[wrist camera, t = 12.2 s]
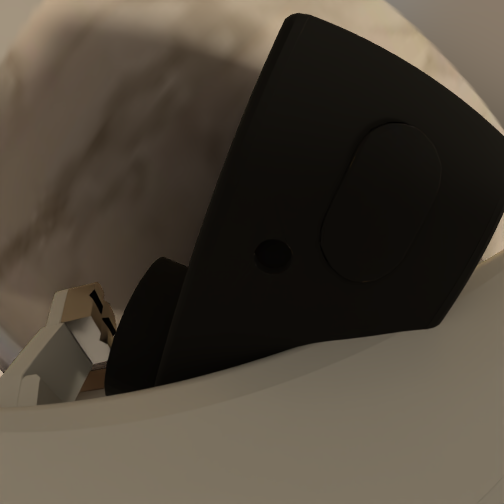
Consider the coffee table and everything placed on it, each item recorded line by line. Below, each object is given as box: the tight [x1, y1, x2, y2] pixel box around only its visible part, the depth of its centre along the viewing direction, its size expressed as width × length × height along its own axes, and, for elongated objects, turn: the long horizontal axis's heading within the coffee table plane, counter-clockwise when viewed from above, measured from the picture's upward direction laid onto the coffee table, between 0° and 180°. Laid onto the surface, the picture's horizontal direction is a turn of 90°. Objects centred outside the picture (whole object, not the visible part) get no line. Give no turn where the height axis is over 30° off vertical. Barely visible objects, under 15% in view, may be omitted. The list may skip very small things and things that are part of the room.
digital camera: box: [104, 13, 504, 396], centre depth 8 cm, size 10×5×7 cm, turn 158°
